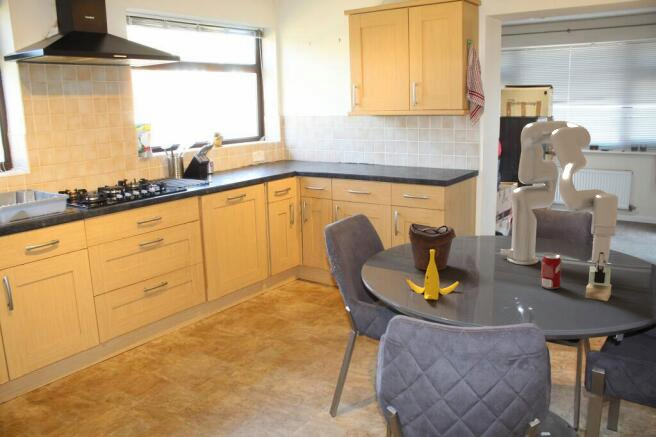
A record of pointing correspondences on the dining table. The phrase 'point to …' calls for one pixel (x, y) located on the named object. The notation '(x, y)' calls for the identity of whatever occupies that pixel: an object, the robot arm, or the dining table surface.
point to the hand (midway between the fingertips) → (599, 279)
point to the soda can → (551, 271)
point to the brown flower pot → (430, 244)
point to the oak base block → (598, 292)
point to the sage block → (592, 275)
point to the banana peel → (431, 282)
